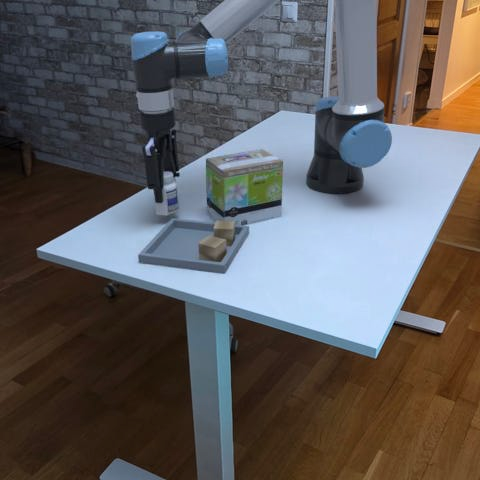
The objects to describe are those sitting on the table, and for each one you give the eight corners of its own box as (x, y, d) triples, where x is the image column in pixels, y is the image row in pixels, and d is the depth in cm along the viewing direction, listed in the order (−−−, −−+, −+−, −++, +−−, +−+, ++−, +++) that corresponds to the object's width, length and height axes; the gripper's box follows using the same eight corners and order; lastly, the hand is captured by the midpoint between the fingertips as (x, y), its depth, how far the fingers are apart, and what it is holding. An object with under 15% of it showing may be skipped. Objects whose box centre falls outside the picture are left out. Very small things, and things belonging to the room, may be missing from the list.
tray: (249, 236, 124) (248, 226, 123) (224, 276, 109) (224, 265, 108) (172, 227, 129) (172, 218, 128) (139, 265, 113) (138, 254, 112)
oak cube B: (226, 257, 115) (226, 239, 113) (215, 265, 111) (215, 247, 110) (210, 252, 116) (209, 235, 115) (199, 260, 113) (198, 243, 112)
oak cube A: (235, 237, 122) (234, 220, 121) (233, 246, 119) (232, 229, 117) (216, 237, 123) (216, 220, 121) (214, 245, 119) (213, 228, 117)
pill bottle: (157, 206, 133) (153, 171, 129) (179, 205, 134) (176, 169, 130) (156, 215, 129) (151, 179, 125) (179, 214, 129) (175, 177, 125)
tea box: (225, 233, 126) (223, 170, 119) (206, 217, 134) (203, 157, 127) (283, 219, 132) (284, 158, 125) (261, 204, 140) (261, 146, 133)
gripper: (157, 98, 129) (167, 193, 140) (121, 120, 114) (135, 224, 124) (188, 99, 127) (196, 195, 138) (155, 121, 112) (167, 227, 122)
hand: (167, 208), depth 131 cm, fingers closed on pill bottle, 5 cm apart
